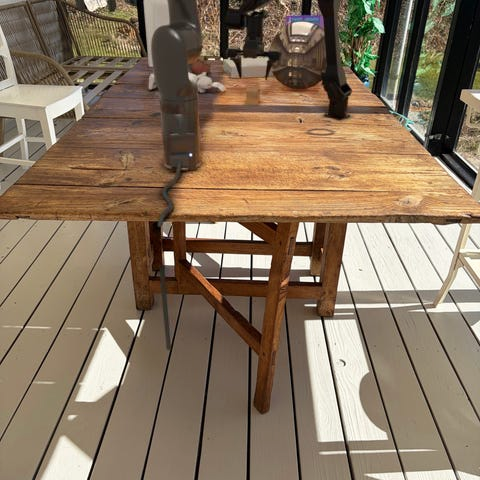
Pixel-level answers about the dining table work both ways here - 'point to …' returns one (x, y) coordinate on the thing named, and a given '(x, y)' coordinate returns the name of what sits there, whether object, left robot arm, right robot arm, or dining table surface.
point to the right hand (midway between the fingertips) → (253, 79)
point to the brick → (252, 96)
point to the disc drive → (247, 67)
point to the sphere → (300, 55)
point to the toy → (200, 80)
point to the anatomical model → (200, 66)
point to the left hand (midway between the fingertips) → (97, 11)
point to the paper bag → (154, 20)
